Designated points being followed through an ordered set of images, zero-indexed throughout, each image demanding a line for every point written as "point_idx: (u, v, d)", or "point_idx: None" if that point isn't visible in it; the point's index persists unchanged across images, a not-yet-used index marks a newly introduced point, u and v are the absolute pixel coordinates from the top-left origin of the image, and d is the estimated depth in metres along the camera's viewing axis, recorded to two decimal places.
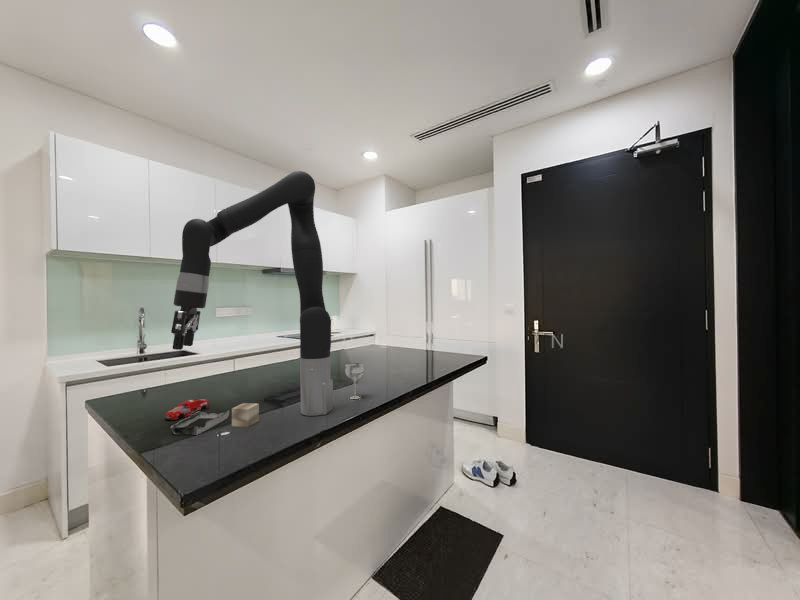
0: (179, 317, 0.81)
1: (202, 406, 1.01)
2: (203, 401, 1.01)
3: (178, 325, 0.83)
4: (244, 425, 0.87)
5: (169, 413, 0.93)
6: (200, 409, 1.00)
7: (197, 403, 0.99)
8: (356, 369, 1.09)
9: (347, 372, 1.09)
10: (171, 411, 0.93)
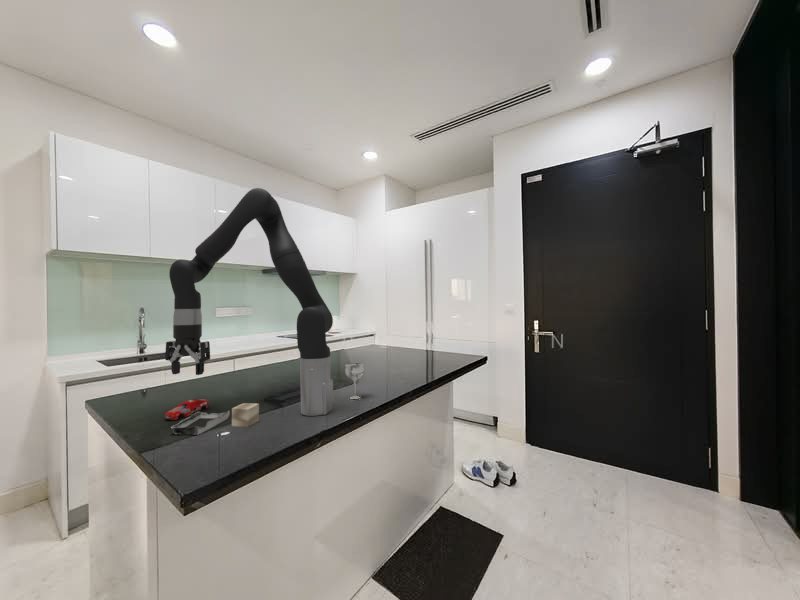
0: (206, 347, 0.97)
1: (202, 406, 1.01)
2: (203, 401, 1.01)
3: (196, 354, 0.97)
4: (244, 425, 0.87)
5: (169, 413, 0.93)
6: (200, 409, 1.00)
7: (197, 403, 0.99)
8: (356, 369, 1.09)
9: (347, 372, 1.09)
10: (171, 411, 0.93)
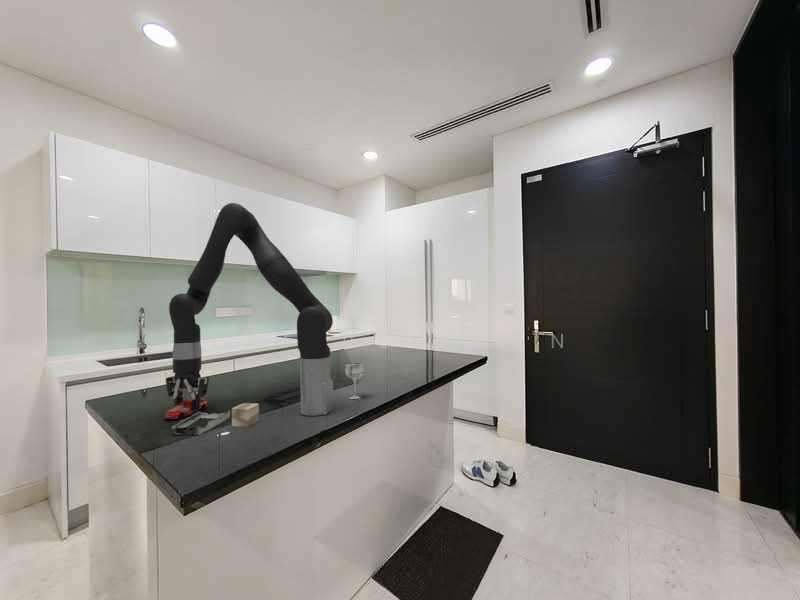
0: (205, 383, 0.97)
1: (201, 405, 1.01)
2: (202, 400, 1.01)
3: (194, 390, 0.97)
4: (244, 425, 0.87)
5: (169, 412, 0.92)
6: (199, 408, 1.00)
7: None
8: (356, 369, 1.09)
9: (347, 372, 1.09)
10: (171, 411, 0.93)
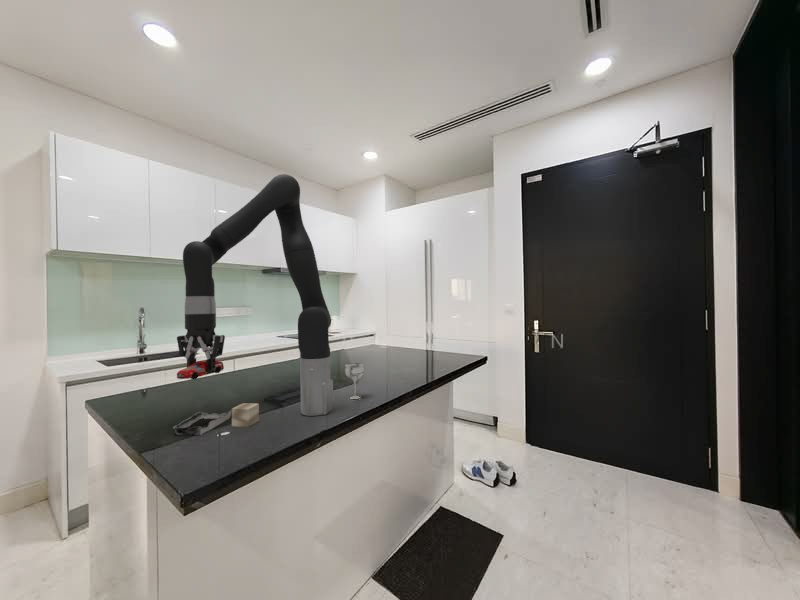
0: (221, 341, 0.88)
1: (216, 367, 0.91)
2: (217, 362, 0.92)
3: (208, 349, 0.88)
4: (244, 425, 0.87)
5: (181, 371, 0.83)
6: (214, 370, 0.90)
7: None
8: (356, 369, 1.09)
9: (347, 372, 1.09)
10: (183, 370, 0.84)
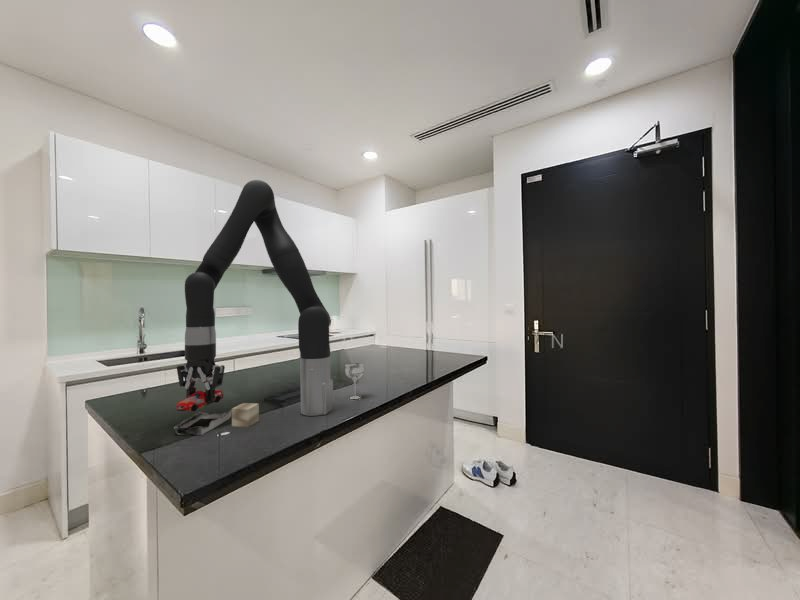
0: (220, 372, 0.88)
1: (216, 397, 0.91)
2: (217, 391, 0.92)
3: (208, 379, 0.87)
4: (244, 425, 0.87)
5: (181, 404, 0.83)
6: (214, 400, 0.90)
7: None
8: (356, 369, 1.09)
9: (347, 372, 1.09)
10: (183, 402, 0.83)
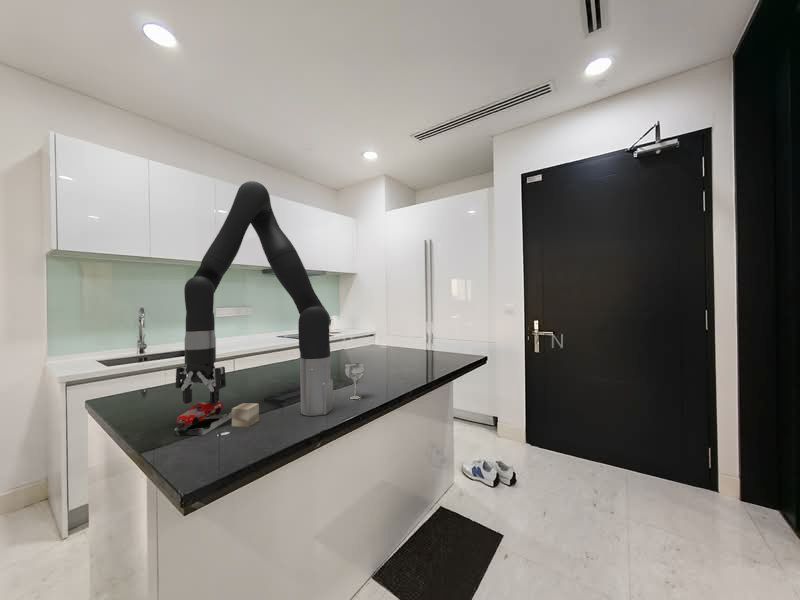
0: (221, 373, 0.87)
1: (216, 408, 0.91)
2: (217, 403, 0.92)
3: (210, 382, 0.87)
4: (244, 425, 0.87)
5: (182, 417, 0.82)
6: (214, 412, 0.90)
7: (211, 406, 0.89)
8: (356, 369, 1.09)
9: (347, 372, 1.09)
10: (184, 415, 0.83)
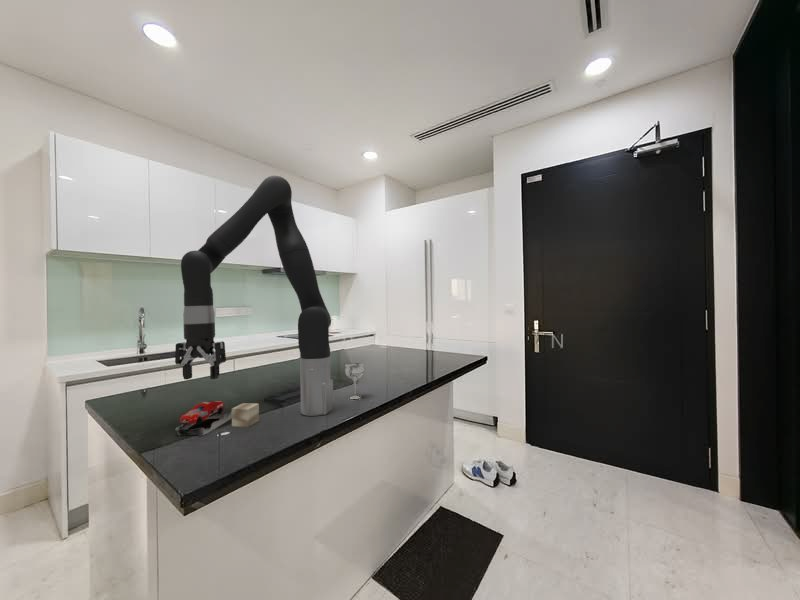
0: (221, 347, 0.87)
1: (218, 408, 0.91)
2: (219, 403, 0.92)
3: (210, 356, 0.87)
4: (244, 425, 0.87)
5: (185, 417, 0.82)
6: (217, 412, 0.90)
7: (214, 405, 0.89)
8: (356, 369, 1.09)
9: (347, 372, 1.09)
10: (187, 415, 0.83)
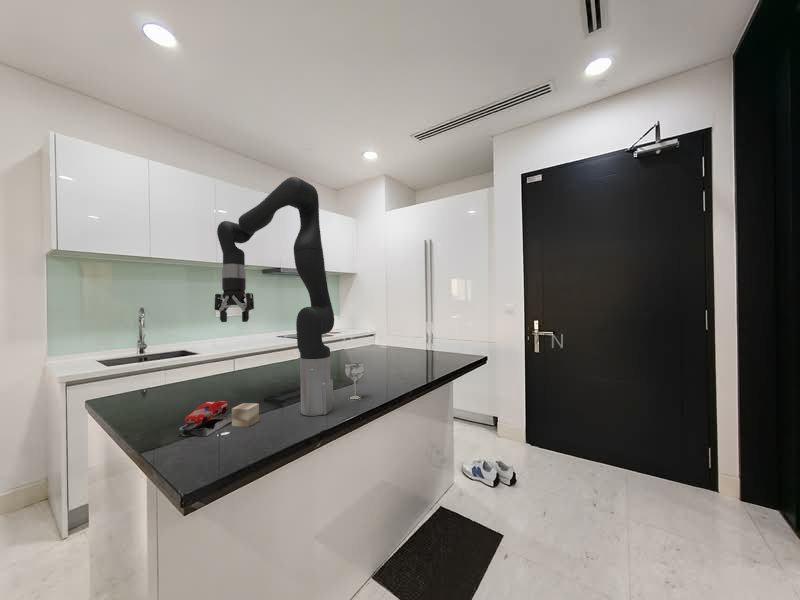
0: (251, 297, 1.12)
1: (223, 408, 0.91)
2: (223, 403, 0.91)
3: (242, 304, 1.11)
4: (244, 425, 0.87)
5: (191, 417, 0.82)
6: (221, 411, 0.90)
7: (218, 405, 0.89)
8: (356, 369, 1.09)
9: (347, 372, 1.09)
10: (193, 415, 0.83)
